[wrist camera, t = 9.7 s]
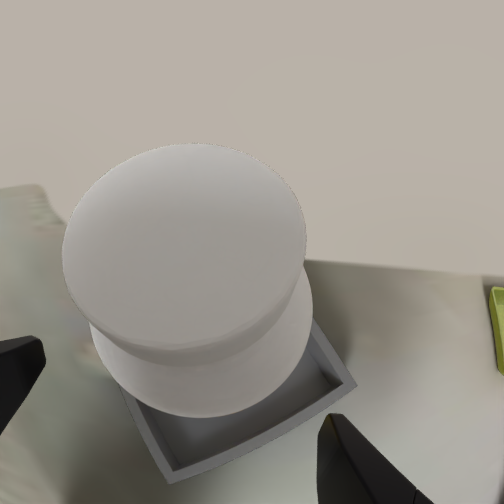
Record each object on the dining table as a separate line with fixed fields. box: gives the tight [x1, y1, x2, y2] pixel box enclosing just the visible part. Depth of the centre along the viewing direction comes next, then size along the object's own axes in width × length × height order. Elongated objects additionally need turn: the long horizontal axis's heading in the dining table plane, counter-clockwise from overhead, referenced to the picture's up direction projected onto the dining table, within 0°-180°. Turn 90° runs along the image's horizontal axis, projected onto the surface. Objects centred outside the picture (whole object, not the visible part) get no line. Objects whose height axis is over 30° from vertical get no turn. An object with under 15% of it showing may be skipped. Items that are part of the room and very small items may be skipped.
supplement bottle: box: [62, 143, 313, 418], centre depth 10 cm, size 7×7×13 cm
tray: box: [117, 316, 357, 485], centre depth 15 cm, size 11×11×3 cm
